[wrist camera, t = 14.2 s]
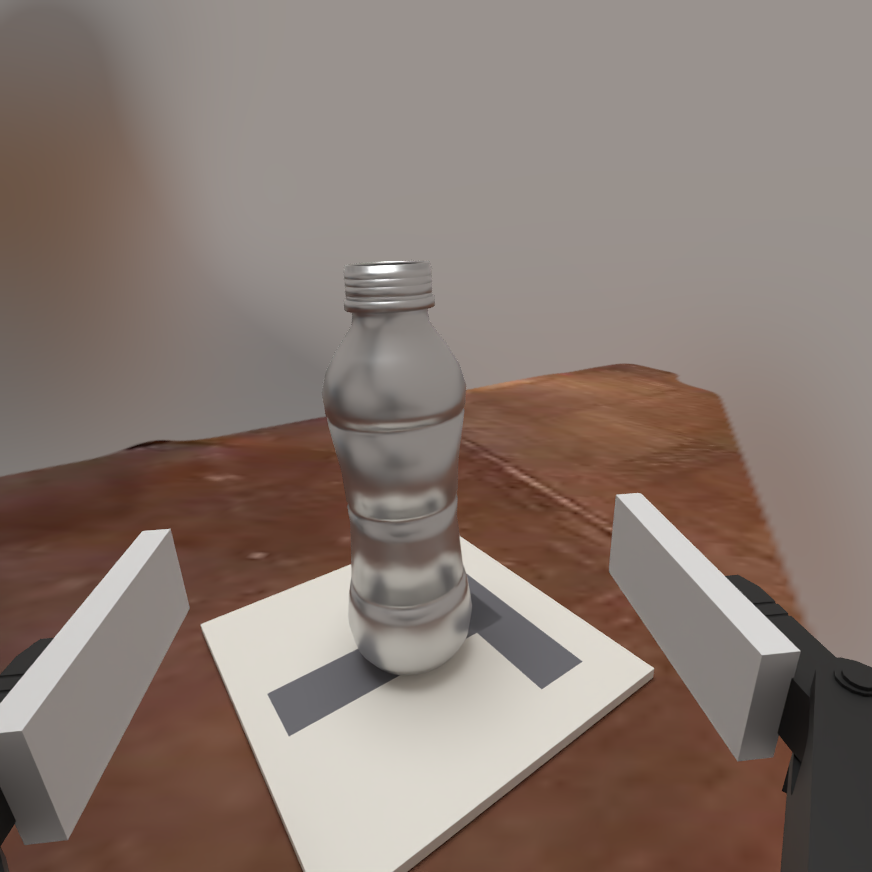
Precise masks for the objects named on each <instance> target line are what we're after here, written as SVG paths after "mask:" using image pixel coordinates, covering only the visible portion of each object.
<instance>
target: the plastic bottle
mask: <svg viewBox="0 0 872 872" xmlns="http://www.w3.org/2000/svg"><path fill="white" fill-rule="evenodd" d="M344 269H345V270H344V281H345V294H346V298H345V299H344V310H345V311H347V312H351V313H352V324H351V325H352V326H351V328H350V329H349V331H348V332H347V334H346V336H345V337H344V339H343V340H342V342H341V344H340V345H339V347H338V349H337V350H336V352H335V354H334V356H333V358H332V360H331V362H330V364H329V366H328V368H327V370H326V373H325V377H324V383H323V389H322V398H323V403H324V408H325V414H326V417H327V418H328V419H327V420H328V425H329V428H330V432H331V436H332V439H333V443H334V446H335V450H336V454H337V457H338V461H339V465H340V468H341V472H342V477H343V483H344V489H345V495H346V500H347V502H348V512H349V518H350V526H351V570H352V577H351V582H350V590H349V605H348V619H349V625H350V628H351V631H352V634H353V637H354V640H355V643H356V645H357V647H358V650H359V652H360V653H361V654H362V655H363V656H364V657H365V658H366V659H367V660H368V661H370V662H371V663H372V664H374V665H375V666H377V667H378V668H379V669H381V670H384V671H386V672H388V673H392V674H397V675H418V674H422V673H426V672H429V671H432V670H434V669H436V668H438V667H440V666H442V665H443V664H445V663H446V662H447V661H448V660H449V659H450V658H452V657H453V655H454V654H455V653H456V652H457V651H458V650H459V649H460V647H461V646H462V644H463V643H464V642H465V639H466V637H467V634H468V629H469V624H470V618H471V612H472V601H471V595H470V590H469V584H468V578H467V575H466V571H465V568H464V565H463V561H462V553H461V544H460V536H459V528H458V520H457V489H458V458H459V450H460V442H461V433H462V425H463V417H464V406H465V395H466V383H465V380H464V377H463V374H462V371H461V367H460V365H459V362H458V361H457V359H456V358H455V356H454V354H453V353H452V351H451V350H450V348H449V346H448V345H447V343H446V342H445V341H444V339H443V338H442V337H441V336H440V334H439V333H438V332H437V330H436V329H435V327H434V326H433V325H432V324H431V322H430V321H429V316H428V308H431V307H433V306H435V295H433V294H432V275H431V274H432V271H431V266H430V261H393V262H371V263H359V264H348V265H344Z"/></svg>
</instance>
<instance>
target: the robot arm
mask: <svg viewBox="0 0 872 872" xmlns="http://www.w3.org/2000/svg"><path fill="white" fill-rule="evenodd" d="M609 572H610V574H611V575H612V577H613V578H614V580H615V581H616V583H617V584H618V586H619V587H620V589H621V590H622V592H623V593H624V595H625V596H626V598H627V599H628V600H629V602H630V603H631V605H632V606H633V608H634V609H635V611H636V612H637V614H638V615H639V617H640V618H641V620H642V621H643V623H644V624H645V626H646V627H647V628H648V630H649V631H650V633H651V634H652V636H653V637H654V639H655V640H656V642H657V643H658V645H659V646H660V648H661V649H662V651H663V652H664V653H665V655H666V656H667V658H668V659H669V661H670V662H671V664H672V665H673V667H674V668H675V670H676V671H677V673H678V674H679V676H680V677H681V679H682V680H683V681H684V683H685V684H686V686H687V687H688V689H689V690H690V692H691V693H692V695H693V696H694V698H695V699H696V701H697V702H698V704H699V705H700V707H701V708H702V709H703V711H704V712H705V714H706V715H707V717H708V718H709V720H710V721H711V723H712V724H713V726H714V727H715V729H716V730H717V732H718V733H719V735H720V736H721V737H722V739H723V740H724V742H725V743H726V745H727V746H728V748H729V749H730V751H731V752H732V754H733V755H734V757H735V758H736V760H737V761H744V760H753V759H761V758H770V757H773V755H774V752H775V748H776V744H777V740H778V736H780V737H781V738H782V739H783V741H784V742H785V743H786V744H787V746H788V747H789V748H790V749H791V751H792V752H793V753H792V757H791V760H790V764H789V767H788V771H787V775H786V778H785V782H784V785H783V789H782V791H783V792H785V793H787V799H786V812H785V824H784V836H783V848H782V861H781V872H872V667H869V666H867V665H864V664H862V663H860V662H857V661H854V660H849V659H844V658H836V657H835V656H834V655H833V654H832V653H831V652H830V651H828V650H827V649H826V648H825V647H824V646H823V645H822V644H821V643H820V642H819V641H818V640H817V639H815V638H814V637H813V636H812V635H811V634H810V633H809V632H808V631H807V630H806V629H805V628H804V627H802V626H801V625H800V624H799V623H798V622H797V621H796V620H795V619H794V618H793V617H792V616H788V613H787V612H786V611H785V610H784V609H783V608H782V607H781V606H780V605H779V604H775V601H774V600H773V599H772V598H771V597H770V596H769V595H768V594H767V593H766V592H765V591H764V590H762V589H761V588H760V587H759V586H757V585H755V584H754V583H752V582H750V581H748V580H746V579H745V578H743V577H741V576H739V575H732V576H724V575H723V574H722V573H721V572H720V571H719V570H718V569H717V568H716V567H715V566H714V565H713V564H712V563H711V562H710V561H709V560H708V559H707V558H706V557H705V556H704V555H703V554H702V553H701V552H700V551H699V550H698V549H697V548H696V547H695V546H694V545H693V544H692V543H691V542H690V541H689V540H688V539H686V538H685V537H684V536H683V535H682V534H681V533H680V532H679V531H678V530H677V529H676V528H675V527H674V526H673V525H672V524H671V523H670V522H669V521H668V520H667V519H666V518H665V517H664V516H663V515H662V514H661V513H660V512H659V511H658V510H657V509H656V508H655V507H654V506H653V505H652V504H651V503H650V502H649V501H648V500H647V499H646V498H645V497H644V496H643V495H642V494H641V493H633V494H620V495H616V500H615V511H614V522H613V532H612V543H611V554H610V564H609ZM189 609H190V607H189V603H188V599H187V595H186V591H185V587H184V583H183V579H182V575H181V570H180V566H179V562H178V558H177V554H176V550H175V546H174V542H173V538H172V534H171V529H163V530H150V531H142V532H141V534H140V535H139V536H138V537H137V538H136V540H135V541H134V542H133V543H132V545H131V546H130V547H129V548H128V549H127V551H126V552H125V553H124V554H123V555H122V557H121V558H120V559H119V560H118V561H117V563H116V564H115V565H114V566H113V568H112V569H111V570H110V571H109V572H108V574H107V575H106V576H105V577H104V578H103V580H102V581H101V582H100V583H99V584H98V586H97V587H96V588H95V589H94V590H93V592H92V593H91V594H90V595H89V597H88V598H87V599H86V600H85V601H84V603H83V604H82V605H81V606H80V607H79V609H78V610H77V611H76V612H75V613H74V615H73V616H72V617H71V618H70V620H69V621H68V622H67V623H66V624H65V626H64V627H63V628H62V629H61V630H60V632H59V633H58V634H57V635H56V636H55V638H47V639H40V640H38V641H37V642H36V643H34V644H33V645H31V646H30V647H29V648H27V649H26V650H24V651H23V652H22V653H20V654H19V655H18V656H16V657H15V658H14V660H13V661H12V662H11V663H10V664H9V665H8V666H7V667H6V669H5V670H4V671H3V672H2V673H1V674H0V846H1V844H2V843H3V841H4V840H5V838H6V837H7V835H8V833H9V832H10V830H11V829H12V827H13V825H14V824H15V825H16V828H17V830H18V832H19V834H20V836H21V838H22V840H23V842H24V845H28V844H37V843H45V842H54V841H63V840H68V839H69V837H70V835H71V833H72V831H73V829H74V827H75V825H76V823H77V822H78V820H79V818H80V816H81V814H82V812H83V810H84V808H85V806H86V804H87V802H88V801H89V799H90V797H91V795H92V793H93V791H94V789H95V787H96V785H97V783H98V782H99V780H100V778H101V776H102V774H103V772H104V770H105V768H106V766H107V764H108V763H109V761H110V759H111V757H112V755H113V753H114V751H115V749H116V747H117V745H118V744H119V742H120V740H121V738H122V736H123V734H124V732H125V730H126V728H127V726H128V725H129V723H130V721H131V719H132V717H133V715H134V713H135V711H136V709H137V707H138V706H139V704H140V702H141V700H142V698H143V696H144V694H145V692H146V690H147V688H148V686H149V685H150V683H151V681H152V679H153V677H154V675H155V673H156V671H157V669H158V667H159V666H160V664H161V662H162V660H163V658H164V656H165V654H166V652H167V650H168V648H169V647H170V645H171V643H172V641H173V639H174V637H175V635H176V633H177V631H178V629H179V628H180V626H181V624H182V622H183V620H184V618H185V616H186V614H187V612H188V610H189ZM0 872H9V869H8V865H7V861H6V857H5V855H4V853H3V851H2V849H1V847H0Z"/></svg>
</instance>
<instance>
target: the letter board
mask: <svg viewBox="0 0 872 872" xmlns="http://www.w3.org/2000/svg"><path fill="white" fill-rule="evenodd" d="M460 544H461V553H462V561H463V565H464V568H465V571H466V575H467V578H468V584H469V590H470V595H471V601H472V612H471V618H470V624H469V629H468V634H467V637H466V639H465V642H464V643H463V644H462V646H461V647H460V649H459V650H458V651H457V652H456V653H455V654H454V655H453V657H452V658H450V659H449V660H448V661H447V662H446V663H445V664H443V665H442V666H440V667H438V668H436V669H434V670H432V671H429V672H426V673H422V674H418V675H397V674H392V673H388V672H386V671H384V670H381V669H379V668H378V667H377V666H375V665H374V664H372V663H371V662H370V661H368V660H367V659H366V658H365V657H364V656H363V655H362V654H361V653H360V652H359V650H358V647H357V645H356V643H355V640H354V637H353V634H352V631H351V628H350V625H349V619H348V605H349V590H350V582H351V577H352V570H351V565H348V566H346V567H343V568H341V569H338V570H336V571H333V572H331V573H328V574H326V575H323V576H321V577H318V578H316V579H313V580H311V581H308V582H306V583H303V584H301V585H298V586H296V587H293V588H291V589H288V590H286V591H283V592H281V593H278V594H276V595H273V596H271V597H268V598H266V599H263V600H260V601H258V602H255V603H253V604H250V605H248V606H245V607H243V608H240V609H238V610H235V611H233V612H230V613H228V614H225V615H223V616H220V617H218V618H215V619H213V620H210V621H208V622H205V623H203V624H201V629H202V633H203V635H204V637H205V640H206V642H207V645H208V647H209V649H210V652H211V654H212V656H213V659H214V661H215V664H216V666H217V668H218V671H219V673H220V675H221V678H222V680H223V683H224V685H225V687H226V690H227V692H228V694H229V697H230V699H231V702H232V704H233V706H234V709H235V711H236V713H237V716H238V718H239V721H240V723H241V725H242V728H243V730H244V732H245V735H246V737H247V739H248V742H249V744H250V747H251V749H252V751H253V754H254V756H255V758H256V761H257V763H258V766H259V768H260V770H261V773H262V775H263V777H264V780H265V782H266V785H267V787H268V789H269V792H270V794H271V796H272V799H273V801H274V804H275V806H276V808H277V811H278V813H279V815H280V818H281V820H282V823H283V825H284V827H285V830H286V832H287V834H288V837H289V839H290V842H291V844H292V846H293V849H294V851H295V853H296V856H297V858H298V860H299V863H300V865H301V868H302V870H303V872H408V871H409V870H410V869H411V868H413V867H414V866H415V865H416V864H418V863H419V862H420V861H421V860H423V859H424V858H425V857H427V856H428V855H429V854H430V853H432V852H433V851H434V850H435V849H437V848H438V847H439V846H440V845H442V844H443V843H444V842H446V841H447V840H448V839H449V838H451V837H452V836H453V835H454V834H456V833H457V832H458V831H459V830H461V829H462V828H463V827H464V826H466V825H467V824H468V823H470V822H471V821H472V820H473V819H475V818H476V817H477V816H478V815H480V814H481V813H482V812H483V811H485V810H486V809H487V808H489V807H490V806H491V805H492V804H494V803H495V802H496V801H497V800H499V799H500V798H501V797H502V796H504V795H505V794H506V793H508V792H509V791H510V790H511V789H513V788H514V787H515V786H516V785H518V784H519V783H520V782H521V781H523V780H524V779H525V778H527V777H528V776H529V775H530V774H532V773H533V772H534V771H535V770H537V769H538V768H539V767H540V766H542V765H543V764H544V763H546V762H547V761H548V760H549V759H551V758H552V757H553V756H554V755H556V754H557V753H558V752H559V751H561V750H562V749H563V748H565V747H566V746H567V745H568V744H570V743H571V742H572V741H573V740H575V739H576V738H577V737H578V736H580V735H581V734H582V733H584V732H585V731H586V730H587V729H589V728H590V727H591V726H592V725H594V724H595V723H596V722H597V721H599V720H600V719H601V718H603V717H604V716H605V715H606V714H608V713H609V712H610V711H611V710H613V709H614V708H615V707H616V706H618V705H619V704H620V703H621V702H623V701H624V700H625V699H627V698H628V697H629V696H630V695H632V694H633V693H634V692H635V691H637V690H638V689H639V688H640V687H642V686H643V685H644V684H646V683H647V682H648V681H649V680H651V679H652V678H653V674H654V668H653V667H651V666H650V665H648V664H647V663H645V662H644V661H642V660H641V659H640V658H638V657H637V656H635V655H634V654H632V653H631V652H629V651H628V650H626V649H625V648H623V647H622V646H620V645H619V644H617V643H616V642H615V641H613V640H612V639H610V638H609V637H607V636H606V635H604V634H603V633H601V632H600V631H598V630H597V629H595V628H594V627H593V626H591V625H590V624H588V623H587V622H585V621H584V620H582V619H581V618H579V617H578V616H576V615H575V614H573V613H572V612H570V611H569V610H568V609H566V608H565V607H563V606H562V605H560V604H559V603H557V602H556V601H554V600H553V599H551V598H550V597H548V596H547V595H545V594H544V593H543V592H541V591H540V590H538V589H537V588H535V587H534V586H532V585H531V584H529V583H528V582H526V581H525V580H523V579H522V578H521V577H519V576H518V575H516V574H515V573H513V572H512V571H510V570H509V569H507V568H506V567H504V566H503V565H501V564H500V563H498V562H497V561H496V560H494V559H493V558H491V557H490V556H488V555H487V554H485V553H484V552H482V551H481V550H479V549H478V548H476V547H475V546H474V545H472V544H471V543H469V542H468V541H466V540H465V539H463V538H462V537H460Z"/></svg>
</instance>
